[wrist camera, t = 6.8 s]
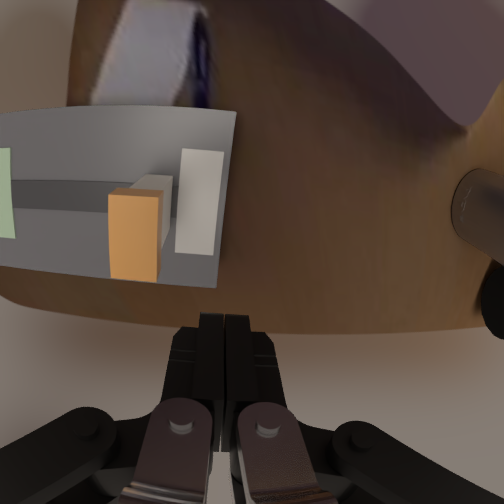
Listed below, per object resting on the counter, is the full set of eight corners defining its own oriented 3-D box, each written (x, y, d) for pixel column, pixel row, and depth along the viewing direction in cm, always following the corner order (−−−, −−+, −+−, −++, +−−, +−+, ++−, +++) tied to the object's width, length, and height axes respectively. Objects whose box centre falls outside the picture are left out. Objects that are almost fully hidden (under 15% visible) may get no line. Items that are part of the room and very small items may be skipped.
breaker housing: (233, 113, 26) (236, 111, 21) (215, 262, 31) (216, 289, 26) (14, 113, 22) (-16, 116, 18) (19, 244, 28) (-6, 265, 23)
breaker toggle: (177, 171, 22) (158, 197, 15) (173, 232, 24) (156, 282, 17) (142, 169, 21) (108, 194, 14) (140, 229, 23) (110, 278, 16)
